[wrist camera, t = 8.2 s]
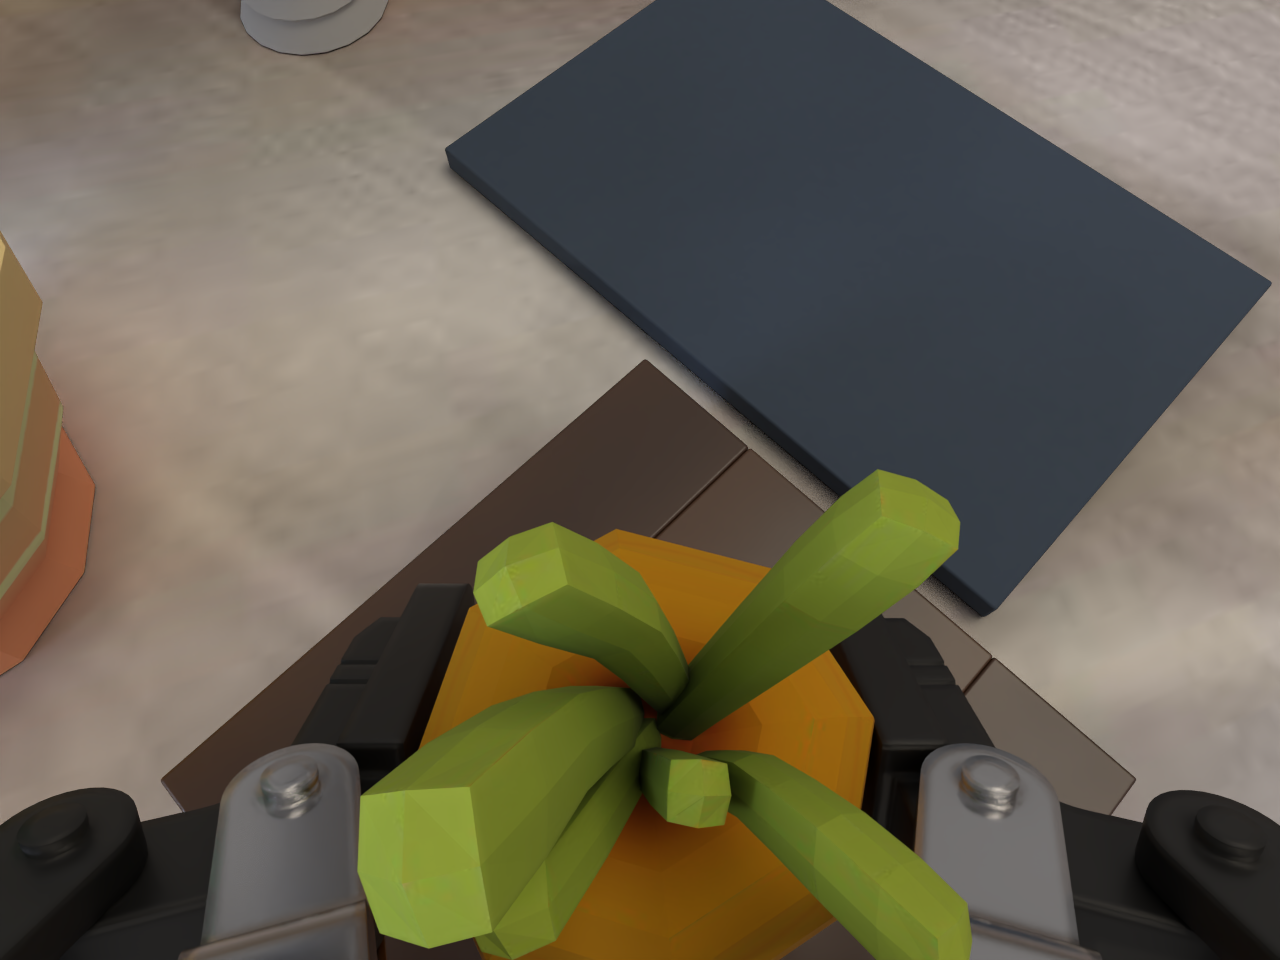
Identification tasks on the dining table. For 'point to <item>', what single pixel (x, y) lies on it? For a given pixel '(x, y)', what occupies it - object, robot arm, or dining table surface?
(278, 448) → the dining table surface
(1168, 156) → the dining table surface
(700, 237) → the mat
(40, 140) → the dining table surface
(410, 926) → the carrot
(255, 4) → the chalice
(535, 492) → the stand
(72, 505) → the potted cactus
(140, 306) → the dining table surface
